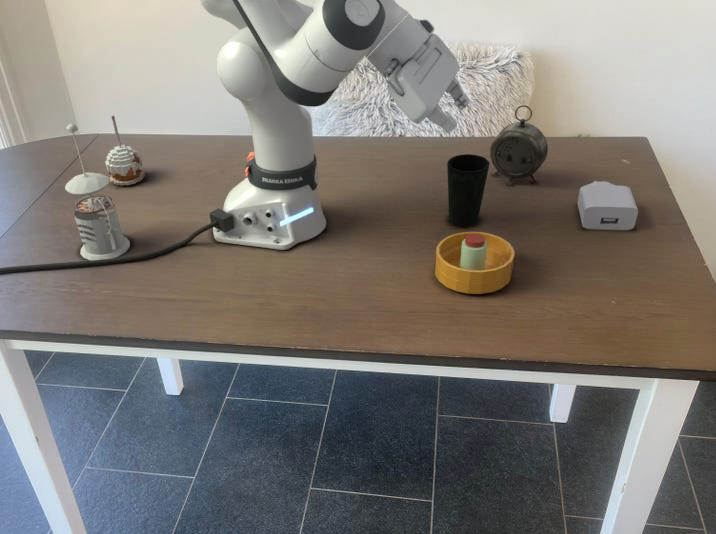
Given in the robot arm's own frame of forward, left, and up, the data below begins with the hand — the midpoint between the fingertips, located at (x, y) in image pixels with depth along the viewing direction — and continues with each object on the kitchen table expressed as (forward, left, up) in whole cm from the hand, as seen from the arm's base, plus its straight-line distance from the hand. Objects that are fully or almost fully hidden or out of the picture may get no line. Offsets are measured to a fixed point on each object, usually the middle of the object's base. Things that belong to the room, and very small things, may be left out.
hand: (459, 117), depth 113 cm
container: (+4, -5, -26) cm, 26 cm away
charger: (+30, +19, -26) cm, 44 cm away
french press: (-66, +1, -26) cm, 71 cm away
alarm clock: (+14, +31, -26) cm, 43 cm away
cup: (+3, +14, -26) cm, 30 cm away
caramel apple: (-72, +31, -26) cm, 83 cm away
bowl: (+4, -5, -26) cm, 27 cm away
